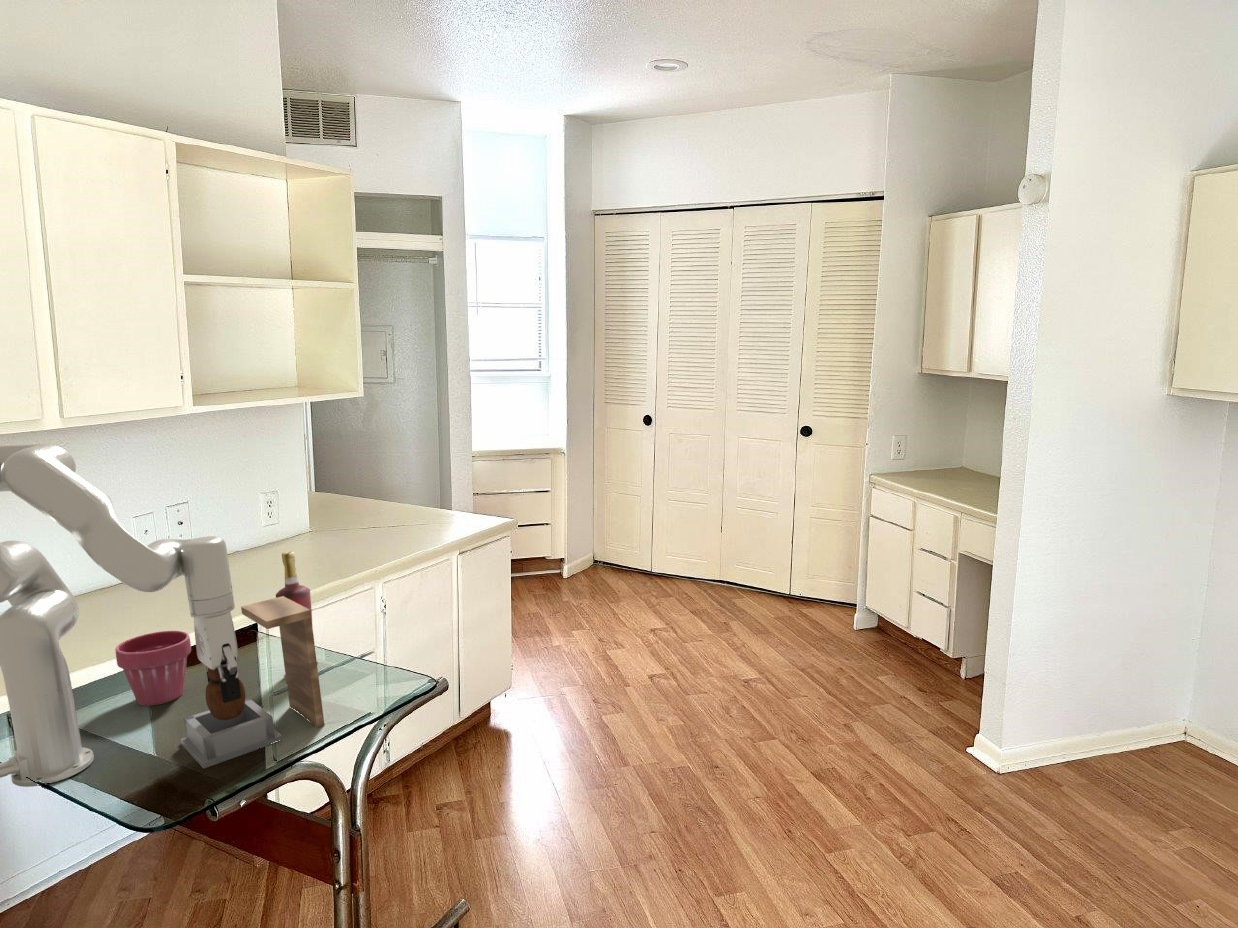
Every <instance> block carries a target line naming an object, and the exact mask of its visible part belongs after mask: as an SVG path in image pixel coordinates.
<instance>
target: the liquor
mask: <svg viewBox="0 0 1238 928" xmlns="http://www.w3.org/2000/svg"><path fill="white" fill-rule="evenodd" d="M281 560H282V563H283V567H284V587H282V588H280V589H279V590H278V591H277V592H276V593H275V598H278V597H282V596H284V597H286V598H288V599H290V600H292V601H294V602H296V603H298V604H300V605H302V606H304V607H306V608H308V609H310V611H311V619H312V620H313V614H312V613H313V612H312V611H313V610H312V609H313V608H312V598H311V588H308V586H305V585H302V584H300V582H299V578H298V572H297V570H296V556H295V551H286V552H282V553H281ZM318 664H319V662H318V661H317V666H318Z"/></svg>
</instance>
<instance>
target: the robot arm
mask: <svg viewBox="0 0 1238 928" xmlns="http://www.w3.org/2000/svg"><path fill="white" fill-rule="evenodd" d="M76 467H77V465H76V461H75V459H74V457H73V456H72V455H71V453H70V452H69V451H67V450H66V449H64V448H63V447H61V446H58V445H56V444H50V443H37V444H19V445H18V444H17V445H16V444H15V445H13V444H12V445H10V444H9V445H0V492H11V493H12V494H14V495H15V496H16V497H18V498H20V499H21V500H23V501H25V502H26V503H27V504H29V505H30V506H31V507H33V508H34V509H36V510H38V511H39V512H41V513H42V514H43V515H45V516H46V517H47V518H50V520H52V521H53V522H55V523H56V524H58V525H59V526H60V527H62V528H64V529H65V530H66V531H68V532H69V533H70V534H71V535H72V536H73V537H74V538H75V541H77V543H78V545H79V546H80V547H81V548H82V549H83V550H84V552H85V553H86V554H87V555H88V556H89V558H90V559H92V561H93V562H94V563H95V564H96V565H98V567H100V568H101V569H103V571H105V572H106V573H108V574H110V575H111V576H112V577H114V578H116V580H117V581H120V582H122V583H123V584H124V585H126V586H128V587H130V588H131V589H133V590H136V591H139V592H143V593H154V592H158V591H161V590H162V589H164V588H165V587H167V586H169V584H170V583H171V582H172V581H173V580H175V579H177V578H179V577H181V576H184V582H185V589H186V595H187V603H188V608H189V609H188V610H189V615H190V617H192V618H193V630H194V640H195V648H196V649H195V650H196V656H197V659H198V660H199V661H200V662H201V663H202V664H204V666H205V668H206V677H207V682H208V683H209V682H210V681H211V679H210V678H209V676H208V668H210V669H212V670H215V669H216V668H217V667H218V671H219V674H220V678H221V681H222V682H220V689H221V696H222V701H223V702H224V703H227V702H230V701H233V700H236V699H239V698H241V692H240V685H239V680H240V678H239V673H238V664H237V663H238V661H239V658H240V657H239V648H238V642H237V636H236V631H235V625H234V621H233V616H232V611H233V610H235V608H236V606H235V598H234V591H233V585H232V577H231V571H230V563H229V555H228V549H227V545H226V542H225V539H223V538H222V537H220V536H216V535H214V536H212V535H211V536H210V535H209V536H202V537H197V538H196V537H195V538H193V539H178V538H176V539H175V538H174V539H173V538H164V539H163V538H162V539H157V540H155V541H153V542H151V543H150V544H148V545H146V544H145V543H143V542H142V541H140V540H139V539H137V538H136V537H135V536H133V535H132V534H131V533H130V532H128V531H127V529H125V527H123V526H122V524H121V523H120V522H119V520H118V518H117V517H116V514H115V510H114V505H113V502H112V499H111V498H110V496H109V495H107V494H106V493H105V492H104V491H102V490H101V489H99V488H98V487H97V486H95V485H94V484H92V483H91V482H89V481H87V480H86V479H85V478H83V477H82V476H81V475H79V474H78V473H76V470H77V469H76ZM6 601H7V602H8V603H9V604H10V605H11V607H8V609H6V610H5V611H4V612H3V613H2V614H1V615H0V671H1V673H2V677H3V681H4V687H5V692H6V697H7V700H8V705H9V706H8V707H9V711H10V716H11V717H10V718H11V722H12V723H11V724H12V728H13V735H14V739H15V745H16V750H15V751H14V752H13V753H14V756H12V757H8V760H6V761H3V762H0V779H1V778H5V777H7V776H10V779H11V782H12V784H13V785H15V786H18V787H24V788H25V787H27V788H29V787H37V786H41V785H37V784H36V783H34V782H33V781H35V782H38V781H41V782H44V783H50V784H53V783H57V782H59V781H62V780H65V779H68V778H70V777H73V776H74V775H77V774H78V773H80V772H82V771H83V770H85V769H87V768H88V767H89V766H90V765H91V764H92V763H93V761H94V760H95V756H94V752H93V750H91V749H90V748H88V747H83V745H82V741H81V740H82V738H81V734H80V733H81V732H80V726H79V723H78V722H79V721H78V717H77V711H76V704H75V699H74V694H73V693H74V692H73V686H72V680H71V676H70V670H69V666H68V663H67V660H66V657H65V654H64V652H63V651H62V648H61V646H60V640H61V639H62V638H63V637H64V636H66V634H68V633H69V632H70V631H72V629H73V628H74V627H75V625H76V624H77V622H78V619H79V614H80V609H79V605H78V602H77V599H76V598H75V596H74V595H73V593H72V591H71V590H70V589H69V587H67V585H66V584H65V582H64V581H63V579H62V578H61V577H60V576H59V574H58V573H57V571H56V570H55V569H54V568H53V566H52V564H51V563H50V561H48V559H47V558H46V556H44V554H43V553H42V552H41V551H40V550H39V549H38V548H36V547H34V546H33V545H32V544H29V543H27V542H24V541H20V540H6V541H0V604H1V603H4V602H6ZM224 661H226V663H227V664H223V665H221V662H224ZM224 668H227V669H228V670H226V671H225V675H224V671H223V669H224ZM208 683H207V684H208ZM26 777H28V778H30V779H31V780H33V781H31V780H30V779H28V778H26Z"/></svg>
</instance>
